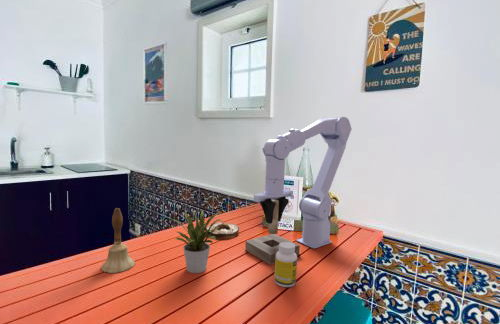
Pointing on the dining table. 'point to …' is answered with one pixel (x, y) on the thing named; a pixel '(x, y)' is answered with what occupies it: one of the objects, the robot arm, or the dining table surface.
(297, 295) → the dining table surface
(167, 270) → the dining table surface
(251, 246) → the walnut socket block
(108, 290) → the dining table surface
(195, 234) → the house plant
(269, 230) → the beech peg
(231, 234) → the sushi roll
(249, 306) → the dining table surface
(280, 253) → the supplement bottle
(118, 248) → the hand bell
